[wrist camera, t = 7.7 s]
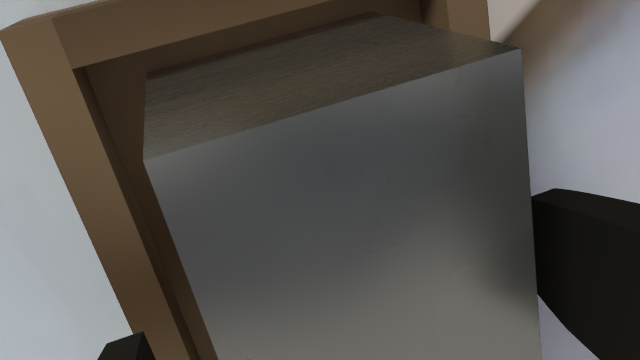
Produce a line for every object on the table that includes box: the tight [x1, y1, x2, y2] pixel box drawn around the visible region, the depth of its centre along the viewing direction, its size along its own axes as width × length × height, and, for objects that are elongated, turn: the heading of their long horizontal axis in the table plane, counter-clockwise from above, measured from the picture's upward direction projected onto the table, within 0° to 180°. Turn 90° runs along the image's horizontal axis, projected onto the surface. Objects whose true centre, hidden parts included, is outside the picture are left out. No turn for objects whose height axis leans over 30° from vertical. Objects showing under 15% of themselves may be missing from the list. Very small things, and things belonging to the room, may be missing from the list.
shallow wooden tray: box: [0, 0, 491, 360], centre depth 12 cm, size 12×8×2 cm
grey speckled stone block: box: [143, 12, 542, 360], centre depth 10 cm, size 4×8×5 cm, turn 13°
